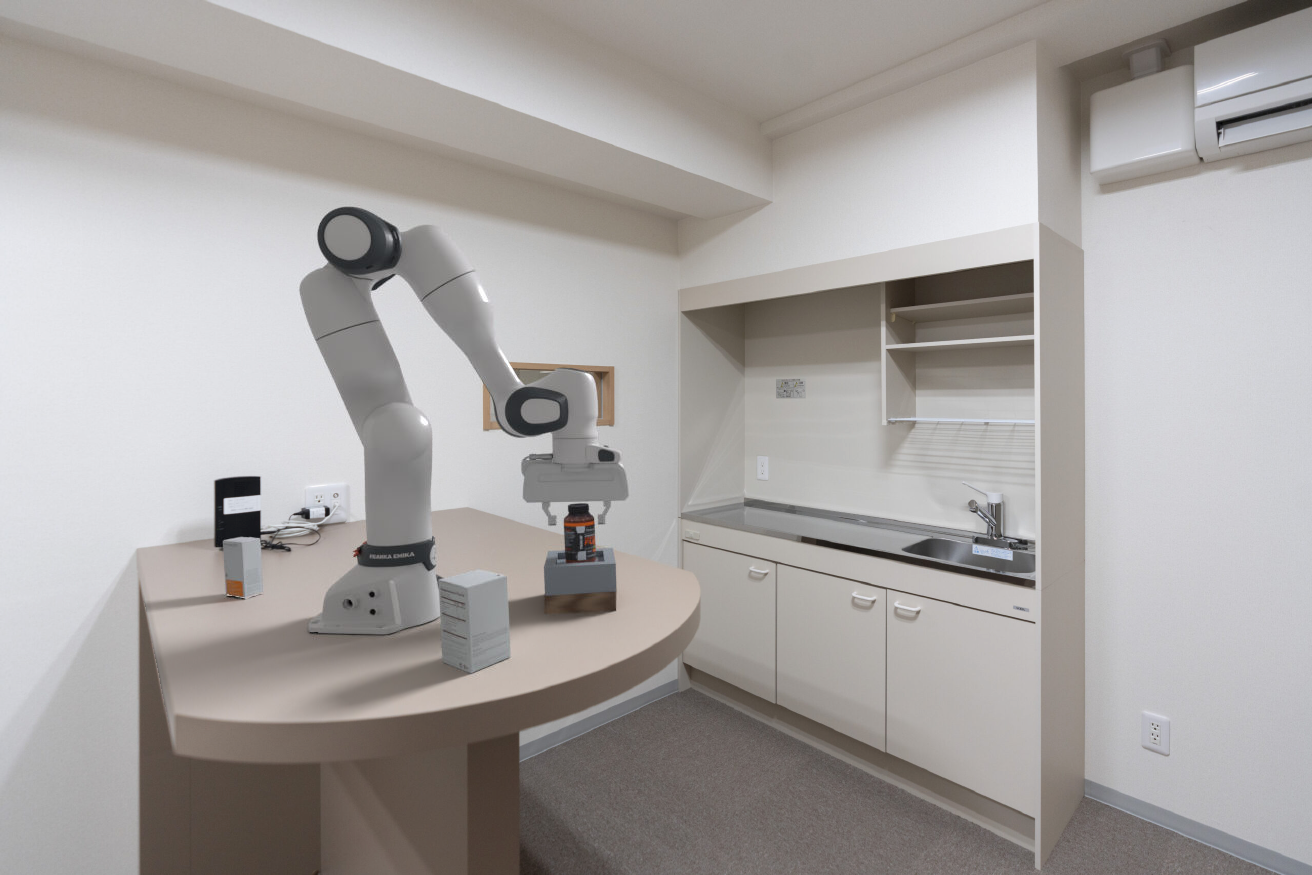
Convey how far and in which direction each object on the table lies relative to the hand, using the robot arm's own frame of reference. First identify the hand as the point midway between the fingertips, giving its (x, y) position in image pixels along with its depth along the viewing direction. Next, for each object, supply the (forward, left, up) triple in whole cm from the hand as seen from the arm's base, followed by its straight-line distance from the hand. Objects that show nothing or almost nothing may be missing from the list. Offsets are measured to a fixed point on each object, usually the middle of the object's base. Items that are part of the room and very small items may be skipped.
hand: (577, 524), depth 120 cm
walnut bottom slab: (+1, 0, -15) cm, 15 cm away
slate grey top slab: (0, 0, -11) cm, 11 cm away
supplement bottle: (+1, 0, -8) cm, 8 cm away
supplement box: (-14, -27, -15) cm, 34 cm away
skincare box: (-71, +14, -15) cm, 74 cm away
